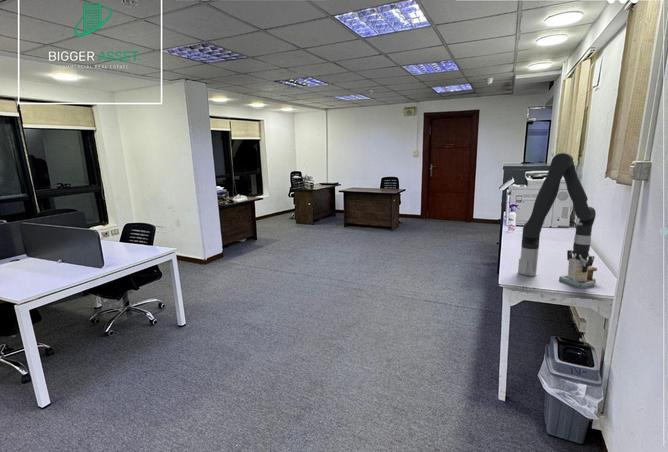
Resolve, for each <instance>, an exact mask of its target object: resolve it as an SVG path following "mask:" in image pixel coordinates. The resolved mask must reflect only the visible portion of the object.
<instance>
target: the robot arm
mask: <svg viewBox="0 0 668 452" xmlns="http://www.w3.org/2000/svg"><path fill="white" fill-rule="evenodd" d="M562 178H563V179H564V181H565V185H566V189H567V193H568V196H569V197H570V199H571V202H572V205H573V211H574V214H575V216H576V217H577V219H578V220H579V222H578V223H577V225H576V227H575V233H574V234H575V235H574V238H573V244H572V245H573V246H572V249H573V250H572V249H568V250H566V253H567V254H566V255H567V256H566V257H567V261H568V262H569V259H575V258H576V259H579V260H581V262H582V263H583V270H582V272H583V273H586V272H587V269H588V267H589V266H592V267H593V264H594V260H595V256H594V255H590V254H589V252H590V249H591V243H592V242H591V241H592V231H593V230H592V229H593V225H594V222H595V220H596V214H597V213H596V210H595V208H594V207H592V206H589V204H588V195H587V194H586V192H585V189H584V187H583V185H582V183H581V181H580V179H579V177H578V173H577V170H576V166H575V162H574V157H573V156H572V155H571V154H569V153H566V152H559V153H557V154H555V155H554V156H553V157H552V159H551V161H550V165H549V168H548V172H547V175H546V176H545V179H544V181H543V182H542V185H540V186H541V187H540V188H539V190H538V193H537V195H536V197H535V201H534V204H533V207H532V211H531V215H530V217H529V218H528V220H527V222H525V223H524V224H523V227H522V236H521V248H520V258H518V267H517V274H520V275H523V276H524V277H535V276H537V269H538V261H539V260H538V258H539V248H540V237H541V231H542V228H543V226H544V225H543V224H544V222H545V219H546V217H547V216H548V213H550V210H551V208H552V207H553V205H554V203H555V200H556V199H557V197H558V193H559V191H560V190H559V189H560V186H561V181H562ZM584 260H585V261H584Z"/></svg>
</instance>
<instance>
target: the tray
mask: <svg viewBox="0 0 668 452" xmlns="http://www.w3.org/2000/svg"><path fill="white" fill-rule="evenodd" d="M558 281H559V282H562V283H565V284H567V285H569V286H573V287H575V288H578V289H581V290H583V289H588V288H592V287H595V284H596V281H595V282H594V281H591V282H587V281H586V282H576V281H573V280H570V279H568V274H565V275H561V276H559V279H558Z"/></svg>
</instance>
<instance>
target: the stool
mask: <svg viewBox="0 0 668 452" xmlns="http://www.w3.org/2000/svg"><path fill="white" fill-rule="evenodd" d="M597 271H598V268H597V267H595V266H593V265H592V266H589V267H588V273H587V282H591V281H594V282H595V283H596V281H597V280H596V279H595V278H594V277H593V276H594V272H597Z"/></svg>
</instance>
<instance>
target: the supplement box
mask: <svg viewBox="0 0 668 452" xmlns="http://www.w3.org/2000/svg"><path fill="white" fill-rule="evenodd" d="M584 261H585V260H584ZM567 269H568V270H567V275H568V279H570V280H573V281H576V282H586V281H587V273H588V269H587V272H586V273H583V272H582V270H583V263H582V262H581V260H579V259H576V258H575V259H569V261H568V268H567Z"/></svg>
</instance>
